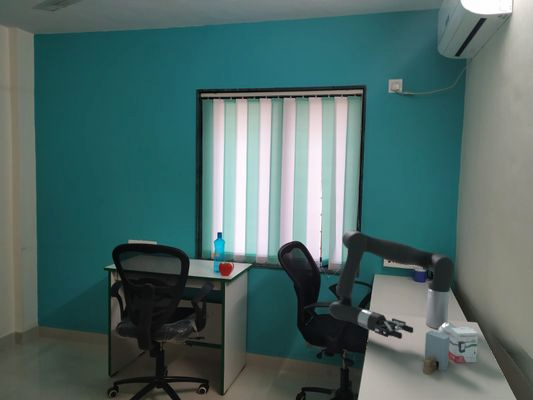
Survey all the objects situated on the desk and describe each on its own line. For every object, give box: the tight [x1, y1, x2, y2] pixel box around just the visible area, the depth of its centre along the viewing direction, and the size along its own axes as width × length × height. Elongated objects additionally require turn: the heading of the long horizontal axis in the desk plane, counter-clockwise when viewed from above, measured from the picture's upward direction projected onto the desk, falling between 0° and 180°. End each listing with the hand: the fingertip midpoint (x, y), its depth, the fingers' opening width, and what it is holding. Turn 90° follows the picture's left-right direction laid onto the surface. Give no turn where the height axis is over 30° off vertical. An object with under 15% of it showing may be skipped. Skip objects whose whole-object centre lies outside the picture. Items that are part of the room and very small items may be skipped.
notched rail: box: [422, 353, 450, 375], centre depth 152 cm, size 16×2×4 cm, turn 132°
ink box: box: [449, 326, 479, 364], centre depth 157 cm, size 8×5×12 cm, turn 98°
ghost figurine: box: [436, 321, 457, 345], centre depth 169 cm, size 9×10×10 cm
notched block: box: [423, 330, 450, 372], centre depth 151 cm, size 4×7×12 cm, turn 42°
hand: (407, 333), depth 160 cm, fingers open, 8 cm apart
